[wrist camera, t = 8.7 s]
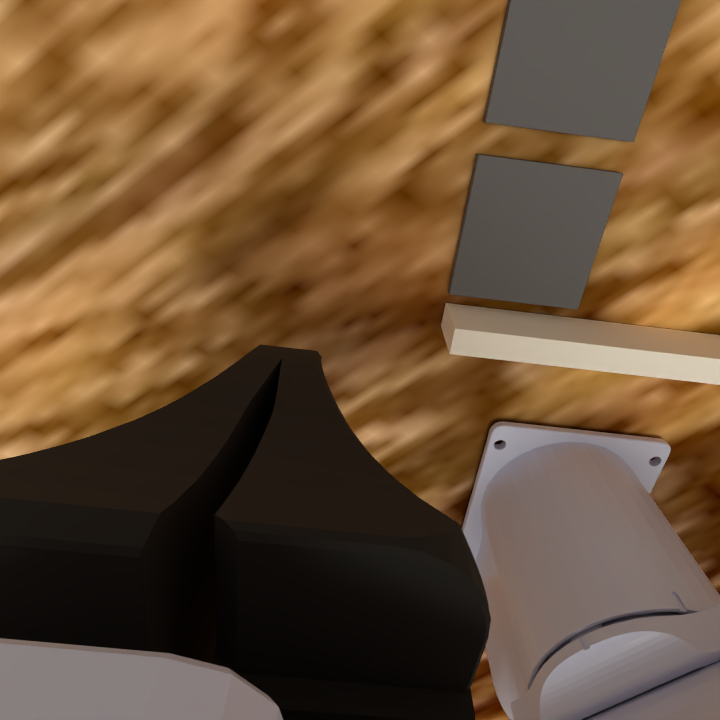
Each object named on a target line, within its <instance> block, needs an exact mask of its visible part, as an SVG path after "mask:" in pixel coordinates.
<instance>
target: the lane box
mask: <svg viewBox="0 0 720 720" xmlns="http://www.w3.org/2000/svg"><path fill="white" fill-rule="evenodd" d="M441 328H442V331H443V335H444V338H445V341H446V344H447V348H448V351H449V354H454V355H463V356H471V357H480V358H489V359H498V360H507V361H515V362H524V363H533V364H542V365H551V366H559V367H568V368H577V369H586V370H595V371H603V372H612V373H621V374H630V375H639V376H647V377H656V378H665V379H674V380H682V381H691V382H700V383H709V384H718V385H720V335H715V334H706V333H698V332H689V331H681V330H673V329H664V328H656V327H647V326H639V325H630V324H622V323H613V322H605V321H596V320H588V319H579V318H571V317H562V316H554V315H545V314H537V313H528V312H520V311H511V310H503V309H494V308H486V307H477V306H469V305H460V304H452V303H446V304H445V309H444V313H443V318H442V323H441Z"/></svg>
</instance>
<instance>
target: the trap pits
mask: <svg viewBox="0 0 720 720" xmlns="http://www.w3.org/2000/svg"><path fill="white" fill-rule="evenodd" d="M680 2H681V0H508V5H507V10H506V14H505V19H504V24H503V29H502V34H501V38H500V43H499V48H498V53H497V58H496V63H495V67H494V72H493V77H492V82H491V87H490V92H489V96H488V101H487V106H486V111H485V116H484V120H483V122H485V123H493V124H500V125H508V126H516V127H523V128H531V129H538V130H546V131H553V132H561V133H568V134H576V135H583V136H591V137H599V138H606V139H614V140H621V141H629V142H634V140H635V137H636V134H637V131H638V128H639V125H640V122H641V119H642V116H643V113H644V110H645V107H646V104H647V101H648V98H649V95H650V92H651V89H652V86H653V83H654V80H655V77H656V74H657V71H658V68H659V65H660V62H661V59H662V56H663V53H664V50H665V47H666V44H667V41H668V38H669V35H670V32H671V29H672V26H673V23H674V20H675V17H676V14H677V11H678V8H679V5H680ZM622 176H623V173H620V172H614V171H606V170H599V169H591V168H583V167H576V166H568V165H560V164H553V163H545V162H537V161H529V160H522V159H514V158H506V157H499V156H491V155H483V154H476V159H475V164H474V169H473V174H472V178H471V183H470V188H469V193H468V198H467V202H466V207H465V212H464V217H463V222H462V227H461V231H460V236H459V241H458V246H457V251H456V256H455V260H454V265H453V270H452V275H451V280H450V284H449V289H448V292H449V294H451V295H459V296H468V297H476V298H485V299H493V300H502V301H510V302H519V303H527V304H535V305H544V306H552V307H561V308H569V309H578V307H579V304H580V301H581V298H582V295H583V292H584V289H585V286H586V283H587V280H588V277H589V274H590V271H591V268H592V265H593V262H594V259H595V256H596V253H597V250H598V247H599V244H600V241H601V238H602V235H603V232H604V229H605V226H606V223H607V220H608V217H609V214H610V211H611V208H612V205H613V202H614V199H615V196H616V193H617V191H618V188H619V185H620V182H621V179H622Z"/></svg>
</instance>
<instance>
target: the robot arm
mask: <svg viewBox="0 0 720 720" xmlns="http://www.w3.org/2000/svg"><path fill="white" fill-rule="evenodd" d="M498 440H503V442H502V443H501V444H494V443H495V442H496V441H498ZM670 451H671V448H670V446H669V445H668V443H667V442H666V441H665V440H663V439H660V438H651V437H641V436H632V435H623V434H614V433H605V432H596V431H586V430H577V429H568V428H559V427H550V426H540V425H531V424H522V423H513V422H497V423H495V424H494V425H492V426H491V428H490V430H489V434H488V438H487V441H486V445H485V448H484V452H483V455H482V459H481V462H480V466H479V469H478V473H477V476H476V480H475V484H474V487H473V491H472V494H471V498H470V501H469V505H468V508H467V512H466V515H465V519H464V522H463V526H462V528H461V526H460V525H459V524H458V523H457V522H455V521H454V520H452V519H451V518H449V517H448V516H446V515H445V514H443V513H442V512H440V511H438V510H437V509H435V508H434V507H432V506H431V505H429V504H428V503H426V502H425V501H423V500H422V499H420V498H419V497H417V496H416V495H415V494H414V493H412V492H411V491H410V490H409V489H407V488H406V487H405V486H404V485H402V484H401V483H400V482H399V481H397V480H396V479H395V478H394V477H393V476H392V475H391V474H389V473H388V472H387V471H386V470H385V469H384V468H383V467H382V466H381V465H380V464H379V463H378V462H377V461H376V460H375V459H374V458H373V457H372V456H371V454H370V453H369V452H368V451H367V450H366V448H365V447H364V446H363V445H362V443H361V442H360V441H359V439H358V438H357V437H356V435H355V434H354V433H353V431H352V430H351V428H350V427H349V425H348V423H347V422H346V420H345V418H344V417H343V415H342V413H341V411H340V410H339V408H338V406H337V404H336V402H335V400H334V398H333V396H332V393H331V391H330V389H329V387H328V384H327V381H326V379H325V376H324V372H323V369H322V364H321V356H320V354H319V353H318V352H317V351H312V350H303V349H294V348H285V347H277V346H268V345H259V346H258V347H256V348H255V349H253V350H252V351H251V352H249V353H248V354H247V355H245V356H244V357H243V358H241V359H240V360H239V361H237V362H236V363H234V364H233V365H232V366H230V367H229V368H228V369H226V370H225V371H223V372H222V373H220V374H219V375H218V376H216V377H215V378H213V379H212V380H210V381H208V382H207V383H205V384H203V385H202V386H200V387H198V388H197V389H195V390H193V391H192V392H190V393H189V394H187V395H185V396H184V397H182V398H180V399H178V400H176V401H174V402H172V403H171V404H169V405H167V406H165V407H163V408H160V409H158V410H156V411H154V412H152V413H150V414H147V415H145V416H143V417H141V418H138V419H136V420H134V421H131V422H128V423H125V424H123V425H120V426H117V427H115V428H112V429H109V430H106V431H104V432H101V433H98V434H96V435H93V436H90V437H87V438H84V439H80V440H77V441H74V442H70V443H67V444H64V445H60V446H56V447H52V448H49V449H45V450H41V451H37V452H33V453H29V454H25V455H21V456H16V457H12V458H7V459H2V460H0V720H475V713H474V707H473V701H472V696H471V690H470V687H471V684H472V681H473V679H474V676H475V673H476V670H477V668H478V665H479V662H480V659H481V657H482V654H483V651H484V648H485V647H486V651H487V656H488V661H489V666H490V670H491V675H492V680H493V685H494V688H495V691H496V694H497V697H498V699H499V701H500V703H501V705H502V707H503V709H504V711H505V712H506V714H507V715H508V717H509V718H510V720H720V595H719V594H718V592H717V591H716V589H715V588H714V586H713V585H712V583H711V582H710V581H709V579H708V578H707V576H706V575H705V573H704V572H703V571H702V569H701V568H700V566H699V565H698V563H697V562H696V561H695V559H694V558H693V556H692V555H691V553H690V552H689V550H688V549H687V548H686V546H685V545H684V543H683V542H682V540H681V539H680V538H679V536H678V535H677V533H676V532H675V530H674V529H673V528H672V526H671V525H670V523H669V522H668V520H667V519H666V517H665V516H664V515H663V513H662V512H661V510H660V509H659V507H658V506H657V505H656V503H655V502H654V500H653V499H652V497H651V496H650V493H651V491H652V489H653V487H654V485H655V483H656V481H657V479H658V477H659V474H660V472H661V470H662V468H663V466H664V464H665V462H666V460H667V458H668V456H669V454H670ZM653 457H656V458H655V459H654V460H651V461H650V459H651V458H653Z"/></svg>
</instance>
